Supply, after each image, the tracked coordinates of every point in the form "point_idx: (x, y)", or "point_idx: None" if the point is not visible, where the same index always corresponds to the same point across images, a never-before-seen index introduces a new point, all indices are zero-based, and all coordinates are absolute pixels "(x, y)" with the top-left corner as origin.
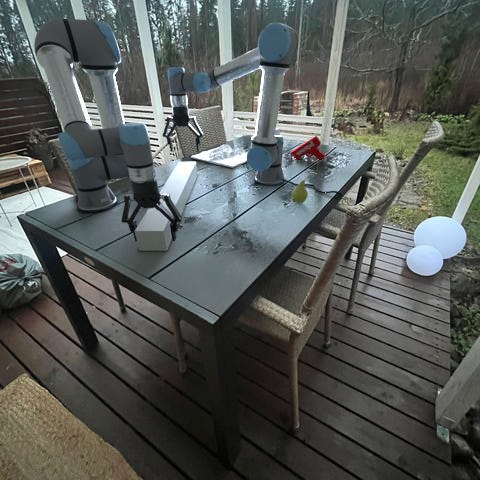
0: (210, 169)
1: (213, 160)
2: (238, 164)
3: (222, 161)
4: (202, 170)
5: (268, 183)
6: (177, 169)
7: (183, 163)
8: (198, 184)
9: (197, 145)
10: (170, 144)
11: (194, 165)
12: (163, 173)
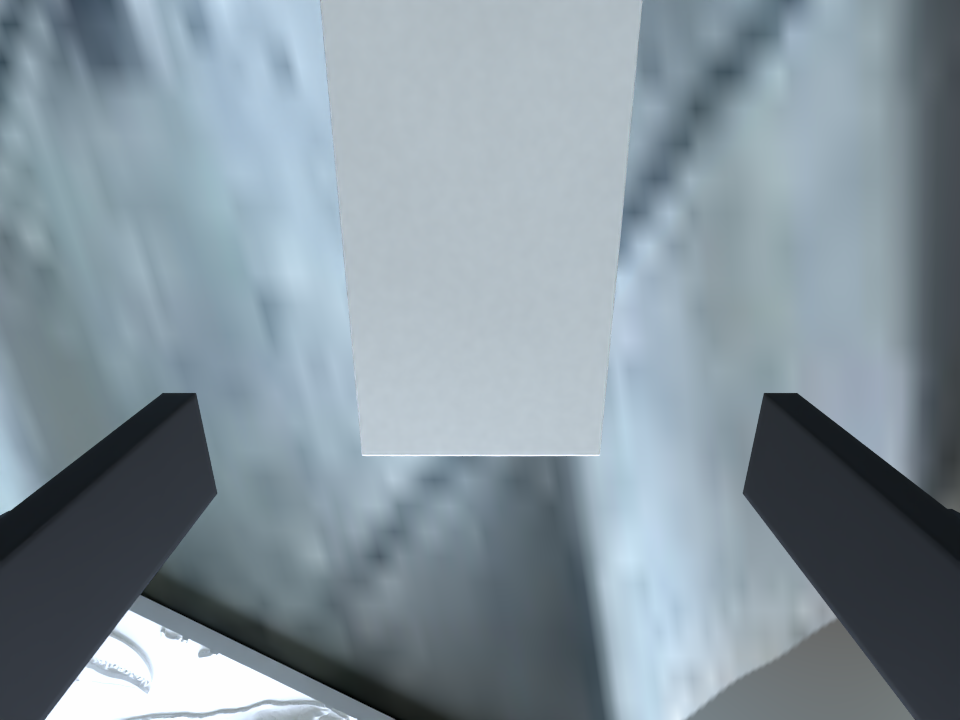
0: (294, 534)
1: (298, 710)
2: None
3: (206, 690)
4: (369, 509)
5: None
6: (582, 68)
7: (530, 379)
8: (314, 70)
9: (77, 465)
10: (888, 484)
11: (347, 290)
12: None
